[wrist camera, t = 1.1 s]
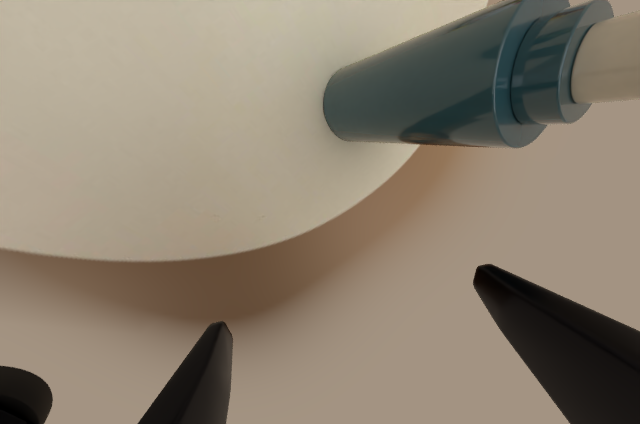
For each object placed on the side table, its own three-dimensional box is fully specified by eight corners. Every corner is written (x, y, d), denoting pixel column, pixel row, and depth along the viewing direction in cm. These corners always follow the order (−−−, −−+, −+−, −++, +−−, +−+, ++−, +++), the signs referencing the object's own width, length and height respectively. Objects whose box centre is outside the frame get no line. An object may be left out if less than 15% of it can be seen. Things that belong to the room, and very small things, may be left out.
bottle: (336, 152, 21) (781, 205, 5) (312, 80, 19) (1066, -241, 3) (385, 126, 23) (829, 107, 7) (370, 56, 20) (1031, -222, 4)
